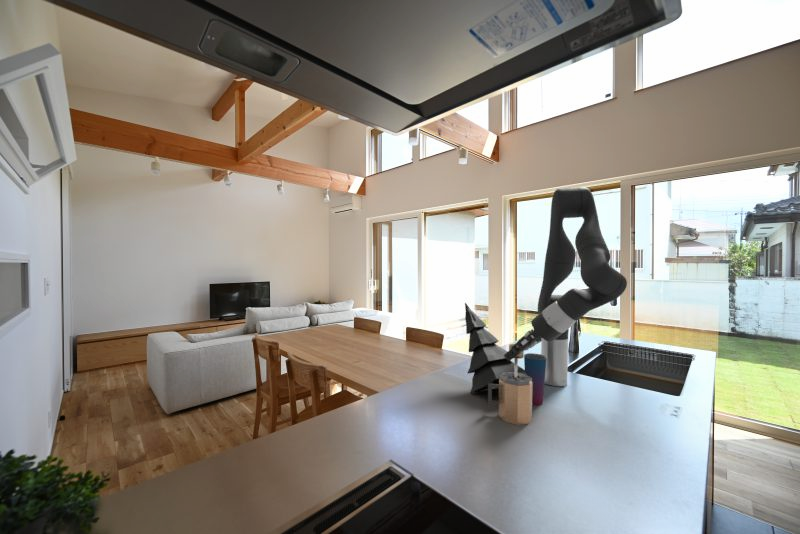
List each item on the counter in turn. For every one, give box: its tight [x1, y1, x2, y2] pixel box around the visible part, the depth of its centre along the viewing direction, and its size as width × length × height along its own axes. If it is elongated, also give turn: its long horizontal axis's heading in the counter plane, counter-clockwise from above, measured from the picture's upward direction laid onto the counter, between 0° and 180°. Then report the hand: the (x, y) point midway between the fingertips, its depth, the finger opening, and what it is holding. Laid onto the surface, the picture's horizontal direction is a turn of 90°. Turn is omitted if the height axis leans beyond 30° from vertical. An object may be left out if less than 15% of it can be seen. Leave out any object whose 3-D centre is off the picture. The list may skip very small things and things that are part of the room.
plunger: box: [508, 343, 525, 378], centre depth 98 cm, size 4×4×18 cm
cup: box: [523, 352, 547, 406], centre depth 110 cm, size 7×7×15 cm
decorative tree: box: [464, 302, 525, 398], centre depth 121 cm, size 15×15×35 cm
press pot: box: [487, 372, 533, 426], centre depth 98 cm, size 9×11×12 cm
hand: (509, 356), depth 99 cm, fingers closed on plunger, 4 cm apart
